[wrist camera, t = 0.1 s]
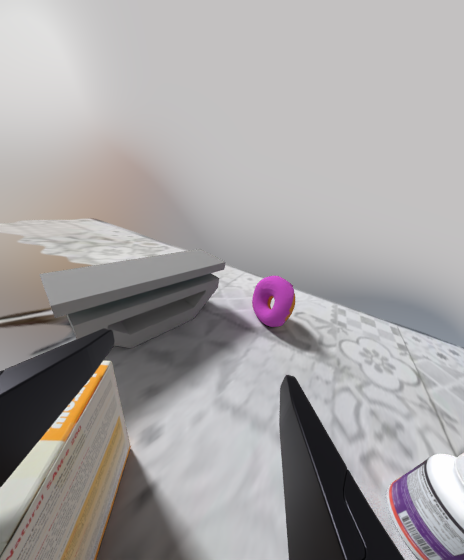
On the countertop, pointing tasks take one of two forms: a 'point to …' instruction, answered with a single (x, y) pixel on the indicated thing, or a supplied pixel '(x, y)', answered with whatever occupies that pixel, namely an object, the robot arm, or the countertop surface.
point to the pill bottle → (431, 508)
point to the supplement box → (68, 479)
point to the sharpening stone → (134, 294)
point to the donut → (283, 300)
